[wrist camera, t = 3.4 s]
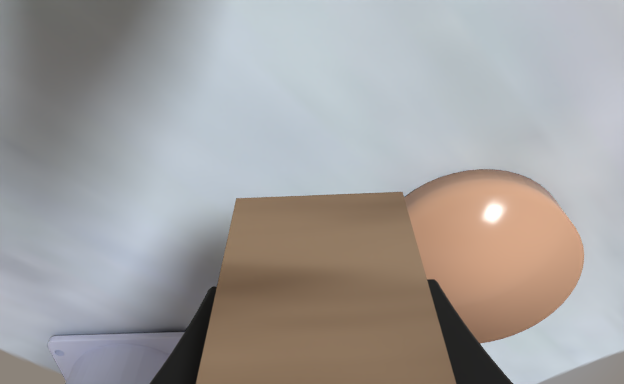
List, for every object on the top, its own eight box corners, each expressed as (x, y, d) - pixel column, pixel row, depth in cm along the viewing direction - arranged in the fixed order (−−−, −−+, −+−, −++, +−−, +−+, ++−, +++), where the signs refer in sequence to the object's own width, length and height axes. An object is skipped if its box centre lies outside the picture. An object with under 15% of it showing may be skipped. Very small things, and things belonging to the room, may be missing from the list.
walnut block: (394, 308, 16) (433, 514, 11) (254, 312, 16) (229, 519, 11) (402, 192, 13) (458, 390, 8) (236, 198, 13) (192, 397, 8)
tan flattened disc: (540, 311, 26) (556, 342, 24) (370, 316, 26) (374, 347, 25) (587, 165, 21) (610, 191, 19) (375, 173, 21) (381, 200, 20)
